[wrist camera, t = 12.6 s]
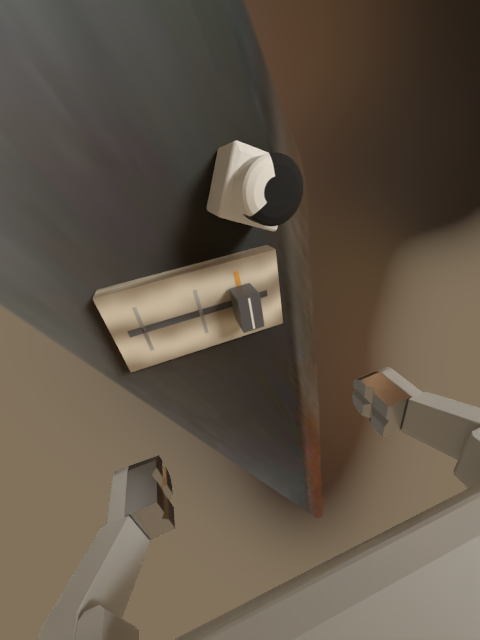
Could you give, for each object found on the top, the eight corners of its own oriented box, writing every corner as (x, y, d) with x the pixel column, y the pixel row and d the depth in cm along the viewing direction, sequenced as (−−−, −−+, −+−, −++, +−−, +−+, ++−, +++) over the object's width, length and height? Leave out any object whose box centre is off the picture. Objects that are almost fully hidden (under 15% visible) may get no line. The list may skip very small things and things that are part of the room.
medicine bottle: (270, 166, 33) (324, 160, 23) (255, 223, 36) (297, 240, 26) (217, 146, 30) (251, 130, 20) (205, 210, 33) (230, 223, 23)
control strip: (96, 289, 34) (92, 298, 31) (267, 244, 38) (275, 249, 35) (132, 360, 40) (130, 372, 37) (275, 314, 44) (283, 323, 41)
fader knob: (228, 288, 35) (237, 300, 32) (249, 282, 36) (259, 293, 32) (235, 319, 38) (244, 333, 34) (254, 313, 38) (264, 326, 35)
